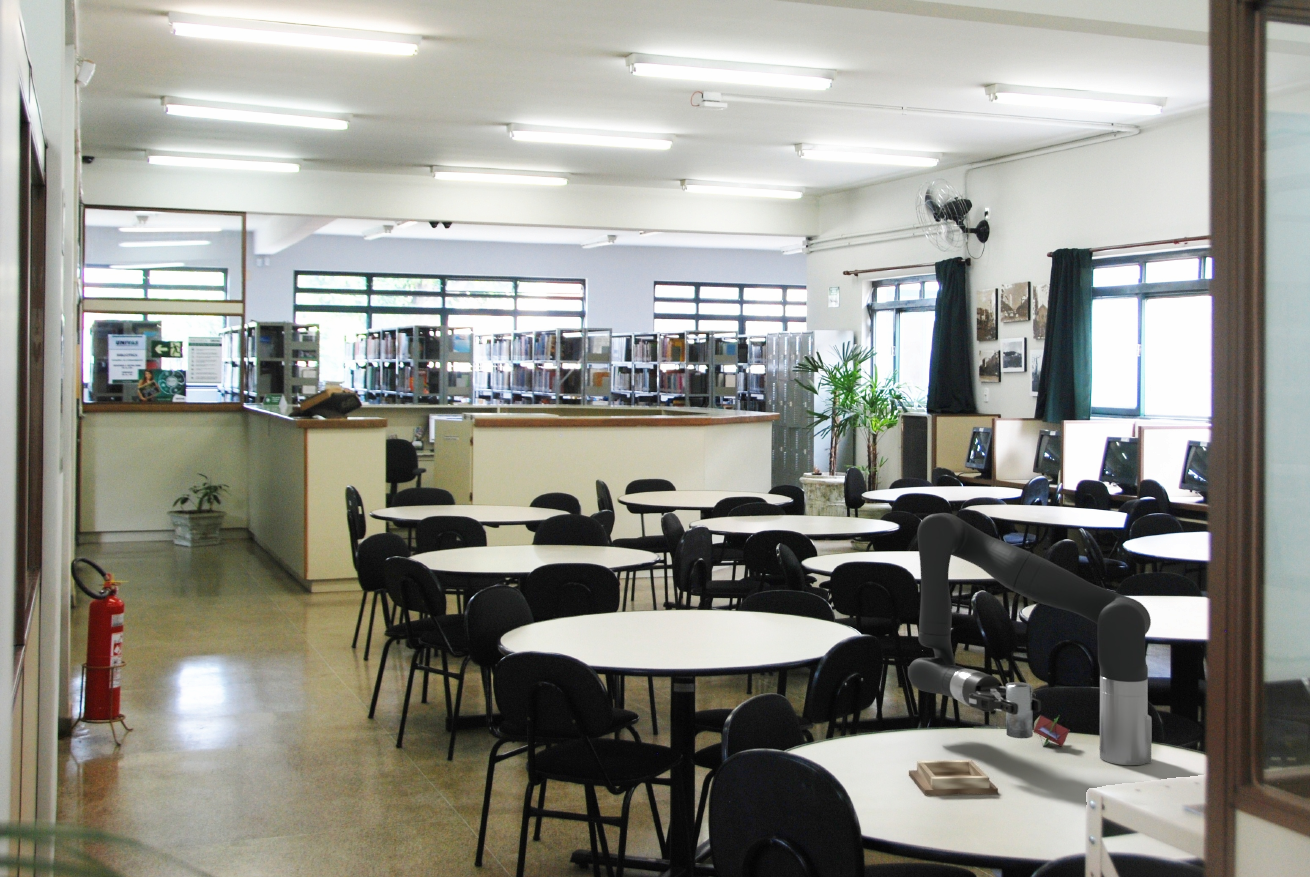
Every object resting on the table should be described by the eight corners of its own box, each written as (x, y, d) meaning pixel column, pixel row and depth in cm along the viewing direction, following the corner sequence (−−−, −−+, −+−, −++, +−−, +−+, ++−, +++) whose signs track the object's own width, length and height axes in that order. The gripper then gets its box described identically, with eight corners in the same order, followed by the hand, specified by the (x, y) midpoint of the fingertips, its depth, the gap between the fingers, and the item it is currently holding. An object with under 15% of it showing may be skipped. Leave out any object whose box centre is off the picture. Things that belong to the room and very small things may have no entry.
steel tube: (1027, 731, 238) (1026, 681, 238) (1036, 737, 233) (1035, 687, 233) (1002, 731, 238) (1002, 682, 238) (1011, 738, 233) (1010, 688, 233)
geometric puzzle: (1079, 735, 255) (1057, 703, 258) (1072, 742, 250) (1049, 710, 252) (1052, 750, 258) (1031, 719, 261) (1045, 758, 253) (1022, 726, 255)
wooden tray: (978, 774, 235) (978, 759, 235) (998, 793, 223) (998, 778, 223) (908, 775, 235) (908, 760, 235) (924, 795, 223) (924, 779, 223)
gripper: (946, 674, 246) (997, 692, 230) (1004, 668, 251) (1057, 685, 235) (947, 710, 246) (997, 730, 230) (1004, 703, 251) (1057, 722, 235)
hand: (1027, 707), depth 233 cm, fingers closed on steel tube, 5 cm apart
